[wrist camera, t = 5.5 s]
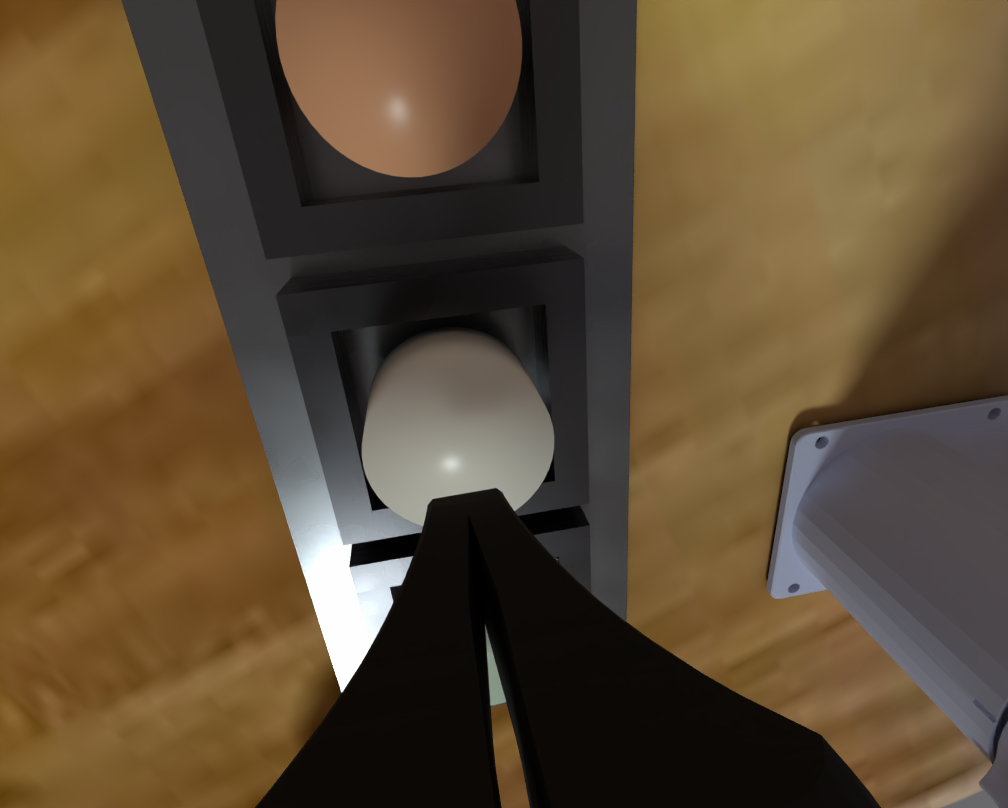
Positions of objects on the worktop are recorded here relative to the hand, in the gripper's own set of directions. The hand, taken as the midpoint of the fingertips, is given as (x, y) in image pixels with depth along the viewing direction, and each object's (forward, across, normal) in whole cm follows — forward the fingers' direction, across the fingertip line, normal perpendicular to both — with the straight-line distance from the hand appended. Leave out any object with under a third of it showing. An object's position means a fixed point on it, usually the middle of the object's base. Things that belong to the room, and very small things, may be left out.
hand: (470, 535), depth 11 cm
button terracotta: (+6, 0, -8) cm, 10 cm away
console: (+7, 0, 0) cm, 7 cm away
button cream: (+5, 0, 0) cm, 5 cm away
